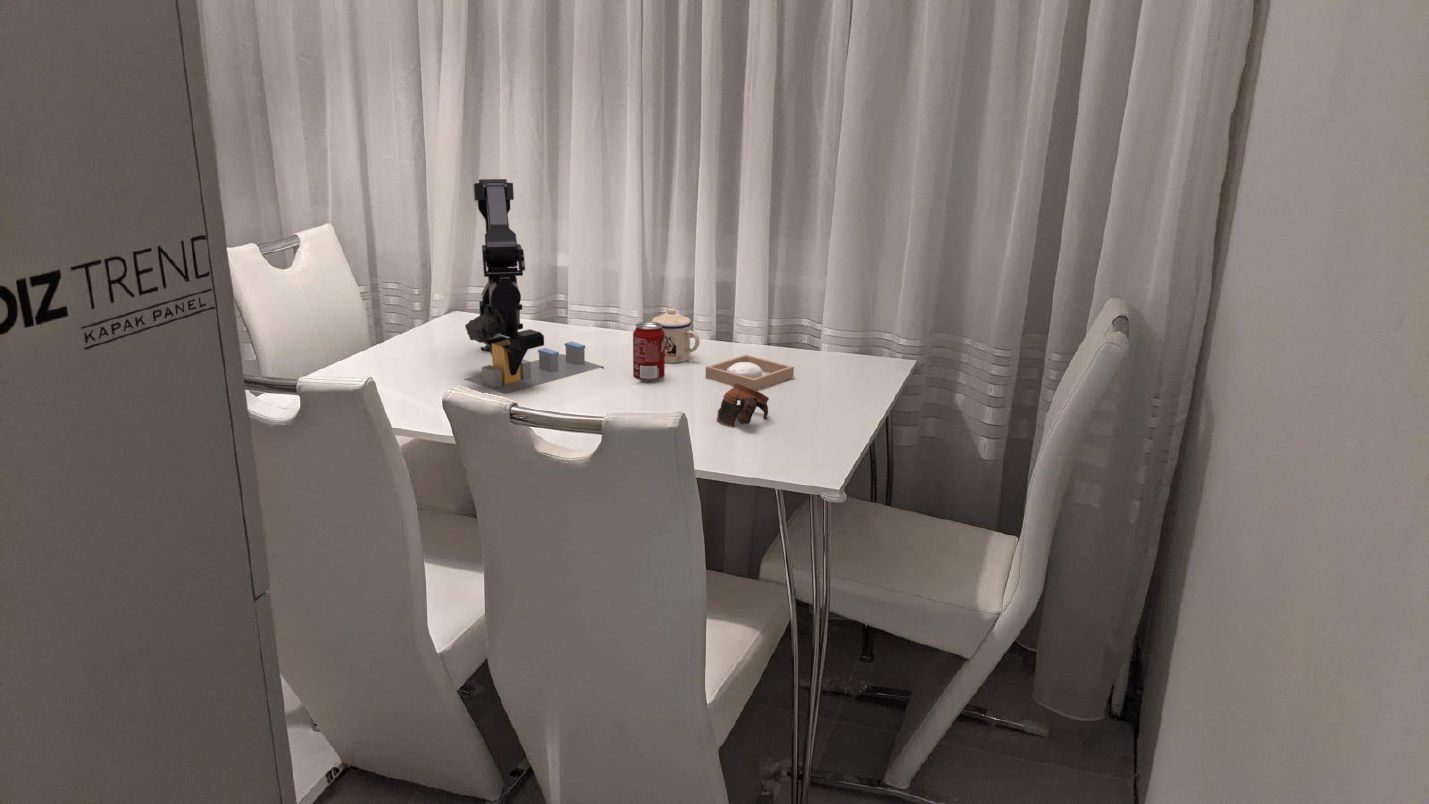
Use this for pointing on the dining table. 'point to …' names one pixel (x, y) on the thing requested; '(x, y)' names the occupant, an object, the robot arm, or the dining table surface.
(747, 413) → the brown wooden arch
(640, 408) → the dining table surface
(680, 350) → the teacup with lid
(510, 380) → the orange rectangular block
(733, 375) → the garlic dish
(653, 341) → the soda can
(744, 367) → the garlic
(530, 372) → the grey board with pegs
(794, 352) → the dining table surface
